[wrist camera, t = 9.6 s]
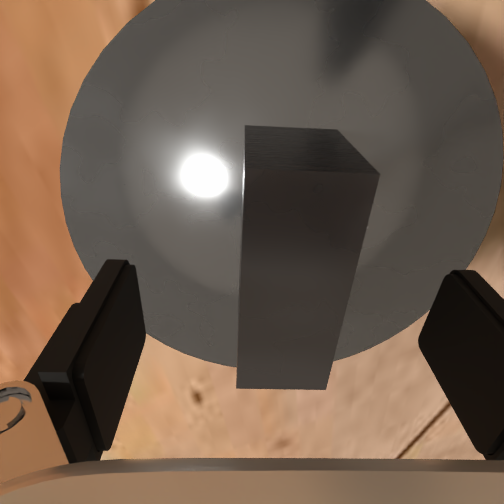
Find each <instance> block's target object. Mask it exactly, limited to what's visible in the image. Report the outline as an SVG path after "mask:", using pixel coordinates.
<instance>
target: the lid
mask: <svg viewBox="0 0 504 504" xmlns="http://www.w3.org/2000/svg"><path fill="white" fill-rule="evenodd" d="M503 159H504V157H503V135H502V126H501V121H500V116H499V111H498V106H497V102H496V98H495V96H494V93H493V90H492V88H491V85H490V83H489V80H488V77H487V75H486V72H485V70H484V68H483V67H482V65H481V63H480V62H479V60H478V58H477V57H476V55H475V53H474V52H473V50H472V48H471V47H470V45H469V43H468V42H467V41H466V40H465V38H464V37H463V36H462V35H461V34H460V33H459V31H458V30H457V29H456V28H455V27H454V26H453V25H452V23H451V22H450V21H449V20H448V19H447V18H446V17H445V16H444V15H443V14H442V13H441V12H439V11H438V10H437V9H436V8H434V7H433V6H432V5H431V4H429V3H428V2H427V1H426V0H155V1H154V2H153V3H152V4H150V5H149V6H148V7H147V8H145V9H144V10H143V11H142V12H140V13H139V14H138V15H137V16H135V17H134V18H133V19H132V20H130V21H129V22H128V23H127V24H126V25H125V26H124V27H123V28H122V29H121V31H120V32H119V33H118V34H117V35H116V36H115V37H114V38H113V39H112V41H111V42H110V43H109V44H108V45H107V46H106V47H105V48H104V49H103V51H102V52H101V54H100V55H99V57H98V59H97V60H96V62H95V63H94V65H93V66H92V68H91V69H90V71H89V72H88V74H87V76H86V77H85V79H84V81H83V83H82V85H81V88H80V90H79V92H78V94H77V97H76V99H75V101H74V103H73V106H72V108H71V111H70V115H69V119H68V122H67V126H66V130H65V134H64V137H63V144H62V153H61V163H60V183H61V199H62V204H63V209H64V214H65V220H66V224H67V227H68V230H69V233H70V236H71V239H72V242H73V245H74V247H75V249H76V251H77V253H78V255H79V257H80V259H81V261H82V263H83V265H84V267H85V269H86V271H87V272H88V274H89V275H90V277H91V278H92V280H94V279H95V277H96V276H97V274H98V272H99V271H100V269H101V267H102V266H103V264H104V262H105V261H106V260H107V259H122V260H128V261H129V263H130V265H135V267H136V271H137V278H138V284H139V291H140V297H141V304H142V310H143V316H144V323H145V329H146V334H148V335H150V336H151V337H153V338H155V339H157V340H158V341H160V342H162V343H163V344H165V345H167V346H169V347H171V348H174V349H176V350H178V351H180V352H182V353H184V354H187V355H190V356H193V357H196V358H199V359H202V360H204V361H208V362H213V363H217V364H221V365H225V366H231V367H237V380H236V388H240V389H305V390H326V387H327V383H328V379H329V375H330V371H331V367H332V363H333V361H336V360H339V359H343V358H346V357H349V356H352V355H355V354H357V353H360V352H362V351H365V350H367V349H370V348H372V347H374V346H376V345H378V344H380V343H382V342H384V341H386V340H388V339H389V338H391V337H393V336H394V335H396V334H397V333H399V332H401V331H402V330H404V329H405V328H407V327H408V326H410V325H411V324H412V323H414V322H415V321H416V320H418V319H419V318H420V317H422V316H423V315H424V314H426V313H427V312H428V311H429V310H430V309H431V307H432V304H433V302H434V300H435V297H436V295H437V293H438V290H439V288H440V286H441V283H442V281H443V278H444V277H445V276H446V275H447V274H450V272H451V271H452V270H466V268H467V267H468V265H469V264H470V262H471V261H472V260H473V258H474V256H475V254H476V252H477V250H478V249H479V247H480V245H481V243H482V241H483V239H484V237H485V235H486V232H487V230H488V227H489V225H490V222H491V220H492V217H493V214H494V212H495V208H496V203H497V199H498V195H499V191H500V187H501V179H502V169H503Z"/></svg>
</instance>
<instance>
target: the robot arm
mask: <svg viewBox="0 0 504 504" xmlns="http://www.w3.org/2000/svg"><path fill="white" fill-rule="evenodd" d="M145 338H146V329H145V323H144V316H143V310H142V304H141V297H140V291H139V284H138V278H137V271H136V267H135V265H130V263H129V261H128V260H122V259H107V260H106V261H105V262H104V264H103V266H102V267H101V269H100V271H99V272H98V274H97V276H96V277H95V279H94V280H93V282H92V284H91V285H90V287H89V289H88V290H87V292H86V294H85V295H84V297H83V299H82V300H81V302H80V303H75V304H73V305H72V306H71V307H70V308H69V310H68V312H67V313H66V315H65V316H64V318H63V319H62V321H61V323H60V324H59V326H58V327H57V329H56V330H55V332H54V334H53V335H52V337H51V338H50V340H49V341H48V343H47V345H46V346H45V348H44V349H43V351H42V352H41V354H40V356H39V357H38V359H37V360H36V362H35V364H34V365H33V367H32V368H31V370H30V371H29V373H28V375H27V376H26V378H25V379H24V381H11V382H5V383H2V384H0V504H504V299H503V298H502V297H501V296H500V295H499V294H498V293H497V292H496V291H495V290H494V289H493V288H492V287H491V286H490V285H489V284H488V283H487V282H486V281H485V280H484V279H483V278H482V277H481V276H480V275H479V274H478V273H477V272H476V271H474V270H452V271H451V272H450V274H447V275H446V276H445V277H444V278H443V281H442V283H441V286H440V288H439V290H438V293H437V295H436V297H435V300H434V302H433V304H432V307H431V309H430V312H429V314H428V316H427V319H426V321H425V323H424V326H423V328H422V331H421V333H420V335H419V338H418V344H419V348H420V350H421V352H422V353H423V355H424V357H425V359H426V361H427V362H428V364H429V366H430V368H431V370H432V371H433V373H434V375H435V377H436V379H437V380H438V382H439V384H440V386H441V388H442V389H443V391H444V393H445V395H446V397H447V398H448V400H449V402H450V404H451V406H452V408H453V409H454V411H455V413H456V415H457V417H458V418H459V420H460V422H461V424H462V426H463V427H464V429H465V431H466V433H467V435H468V436H469V438H470V440H471V442H472V444H473V445H474V447H475V449H476V450H477V451H478V452H479V453H481V454H483V456H484V457H485V459H486V460H441V459H329V458H162V459H117V460H101V461H100V459H101V456H102V453H103V451H108V450H109V449H110V448H111V445H112V443H113V440H114V436H115V433H116V430H117V427H118V424H119V421H120V418H121V415H122V412H123V409H124V405H125V402H126V399H127V396H128V393H129V390H130V387H131V384H132V381H133V378H134V374H135V371H136V368H137V365H138V362H139V359H140V356H141V353H142V350H143V346H144V343H145Z"/></svg>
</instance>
